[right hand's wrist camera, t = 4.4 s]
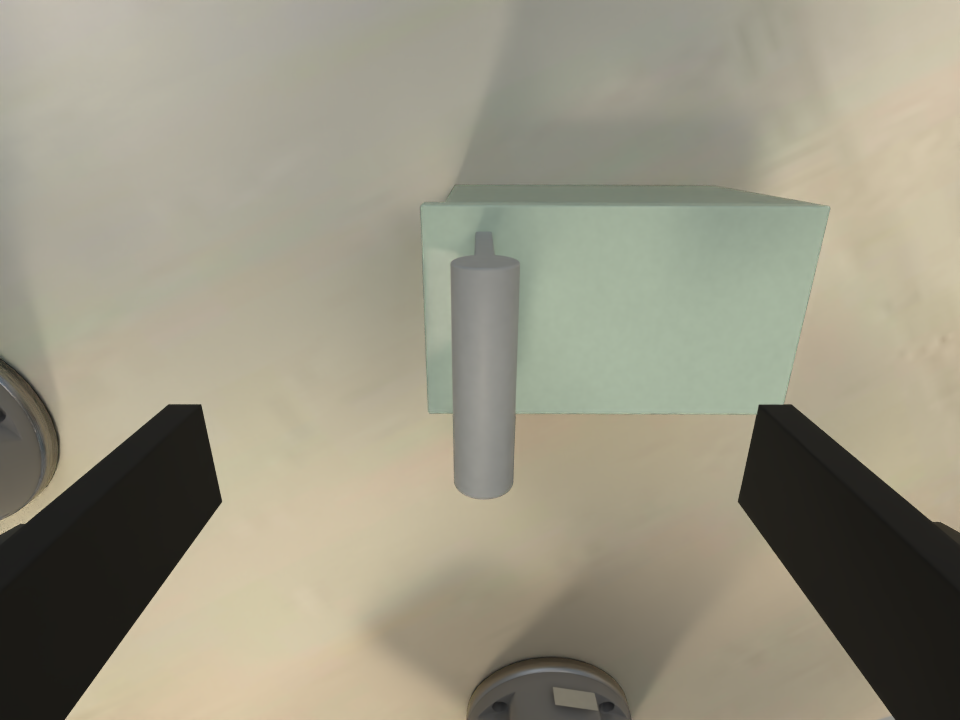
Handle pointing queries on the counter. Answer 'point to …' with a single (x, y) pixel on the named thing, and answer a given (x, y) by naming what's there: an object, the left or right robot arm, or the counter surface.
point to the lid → (607, 314)
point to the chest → (607, 194)
